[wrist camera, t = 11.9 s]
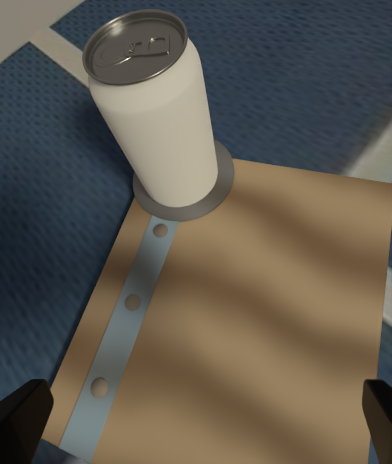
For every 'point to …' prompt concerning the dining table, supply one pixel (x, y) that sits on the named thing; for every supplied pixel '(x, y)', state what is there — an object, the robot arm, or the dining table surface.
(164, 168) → the can
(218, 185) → the subfloor panel
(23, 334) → the dining table surface
